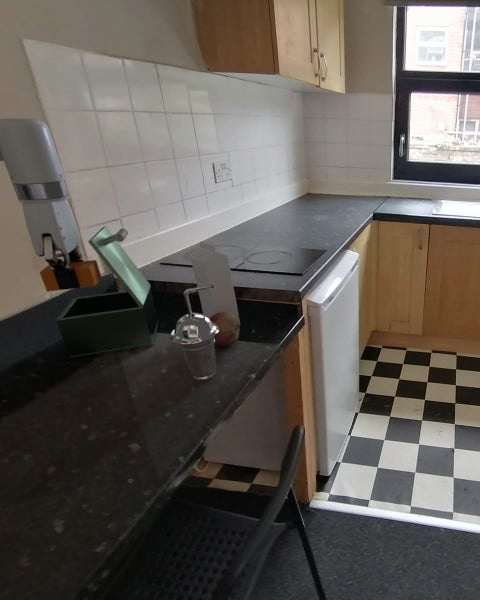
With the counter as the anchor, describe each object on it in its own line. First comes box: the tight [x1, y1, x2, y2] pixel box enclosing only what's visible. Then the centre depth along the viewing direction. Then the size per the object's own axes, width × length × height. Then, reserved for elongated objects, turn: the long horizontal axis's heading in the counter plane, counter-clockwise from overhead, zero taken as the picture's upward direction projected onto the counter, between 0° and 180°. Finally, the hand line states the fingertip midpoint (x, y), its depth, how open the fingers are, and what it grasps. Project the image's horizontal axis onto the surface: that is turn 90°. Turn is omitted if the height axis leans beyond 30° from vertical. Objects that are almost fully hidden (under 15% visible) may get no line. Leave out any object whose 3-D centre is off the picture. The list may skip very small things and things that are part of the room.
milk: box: [190, 241, 241, 326], centre depth 99 cm, size 6×6×22 cm
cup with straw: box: [170, 285, 219, 382], centre depth 79 cm, size 8×9×20 cm
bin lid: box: [87, 225, 152, 307], centre depth 91 cm, size 17×13×5 cm
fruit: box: [209, 312, 241, 348], centre depth 93 cm, size 8×8×8 cm
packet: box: [39, 259, 103, 292], centre depth 81 cm, size 8×5×4 cm, turn 112°
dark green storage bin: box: [55, 288, 160, 361], centre depth 94 cm, size 16×13×10 cm
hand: (74, 282), depth 81 cm, fingers closed on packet, 5 cm apart
